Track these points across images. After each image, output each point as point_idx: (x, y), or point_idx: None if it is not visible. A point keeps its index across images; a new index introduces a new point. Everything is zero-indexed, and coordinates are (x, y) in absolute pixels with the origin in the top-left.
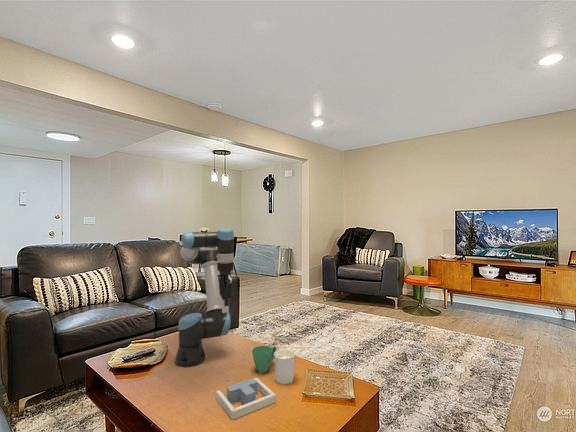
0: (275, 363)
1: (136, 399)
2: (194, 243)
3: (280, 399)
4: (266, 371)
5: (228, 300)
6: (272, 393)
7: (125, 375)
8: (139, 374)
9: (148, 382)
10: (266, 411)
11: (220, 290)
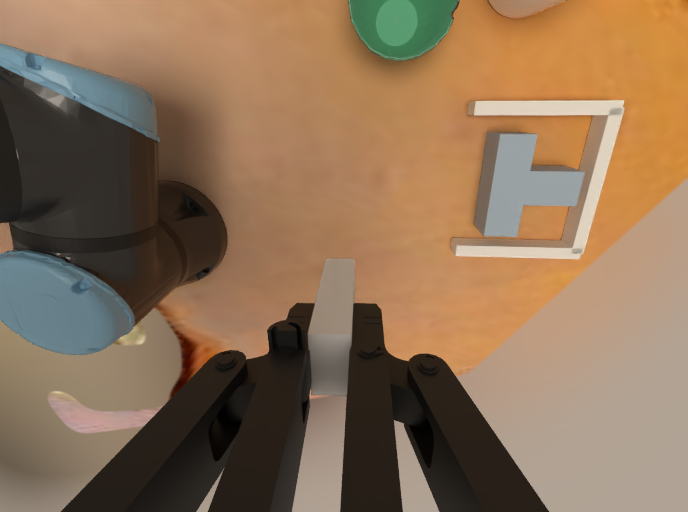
0: (545, 2)
1: None
2: None
3: (611, 76)
4: (416, 10)
5: (351, 320)
6: (610, 107)
7: None
8: None
9: None
10: (619, 154)
11: (219, 474)
